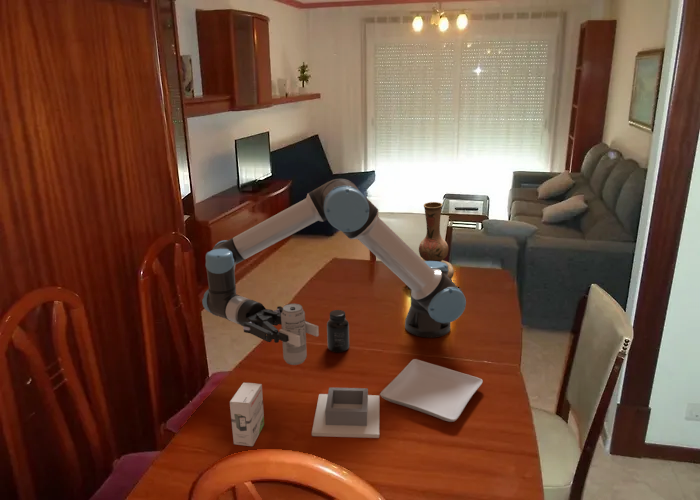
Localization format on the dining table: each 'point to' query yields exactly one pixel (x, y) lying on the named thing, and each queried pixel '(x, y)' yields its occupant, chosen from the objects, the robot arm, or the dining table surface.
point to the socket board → (347, 414)
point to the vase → (434, 238)
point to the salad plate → (432, 389)
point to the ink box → (247, 414)
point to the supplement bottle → (338, 331)
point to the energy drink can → (295, 324)
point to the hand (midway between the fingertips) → (308, 336)
